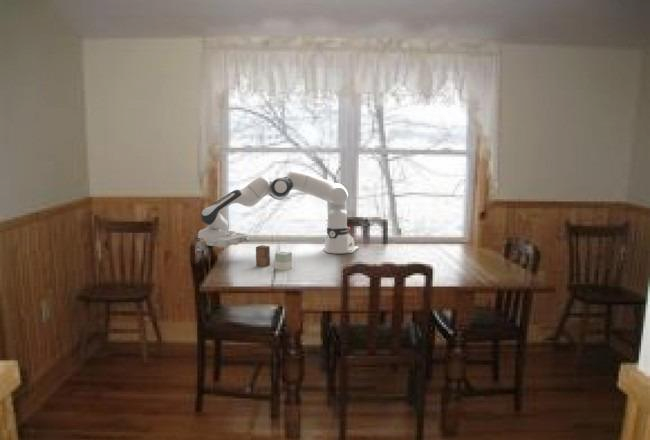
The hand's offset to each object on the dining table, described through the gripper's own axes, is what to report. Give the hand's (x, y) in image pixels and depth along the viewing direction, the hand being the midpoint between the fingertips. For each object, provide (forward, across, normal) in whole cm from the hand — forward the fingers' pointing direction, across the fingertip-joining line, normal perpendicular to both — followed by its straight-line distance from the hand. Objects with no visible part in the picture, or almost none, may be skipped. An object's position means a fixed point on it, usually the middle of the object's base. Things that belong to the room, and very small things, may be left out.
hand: (243, 241), depth 287 cm
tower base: (+26, 0, +11) cm, 28 cm away
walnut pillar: (+13, 0, +11) cm, 17 cm away
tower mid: (+26, 0, +7) cm, 27 cm away
